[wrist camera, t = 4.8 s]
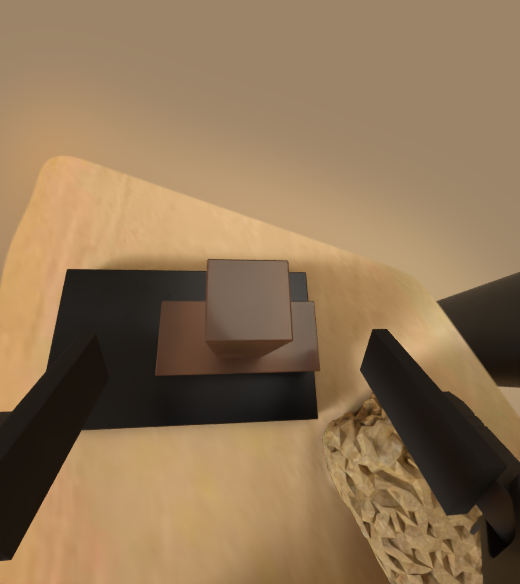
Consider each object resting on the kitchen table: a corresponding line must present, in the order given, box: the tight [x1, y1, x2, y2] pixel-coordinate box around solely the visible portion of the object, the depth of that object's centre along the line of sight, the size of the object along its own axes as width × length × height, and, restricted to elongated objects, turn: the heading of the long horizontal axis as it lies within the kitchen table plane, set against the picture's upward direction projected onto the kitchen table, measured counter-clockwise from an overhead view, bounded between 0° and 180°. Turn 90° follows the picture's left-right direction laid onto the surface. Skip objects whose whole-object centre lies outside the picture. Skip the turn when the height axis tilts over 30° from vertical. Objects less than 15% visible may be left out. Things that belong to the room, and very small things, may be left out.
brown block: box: [155, 259, 320, 376], centre depth 15 cm, size 11×5×12 cm, turn 91°
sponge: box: [323, 393, 483, 584], centre depth 17 cm, size 13×8×20 cm
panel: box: [46, 269, 318, 430], centre depth 21 cm, size 20×12×2 cm, turn 91°
